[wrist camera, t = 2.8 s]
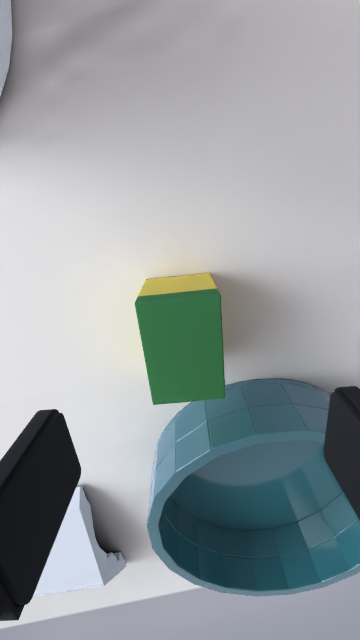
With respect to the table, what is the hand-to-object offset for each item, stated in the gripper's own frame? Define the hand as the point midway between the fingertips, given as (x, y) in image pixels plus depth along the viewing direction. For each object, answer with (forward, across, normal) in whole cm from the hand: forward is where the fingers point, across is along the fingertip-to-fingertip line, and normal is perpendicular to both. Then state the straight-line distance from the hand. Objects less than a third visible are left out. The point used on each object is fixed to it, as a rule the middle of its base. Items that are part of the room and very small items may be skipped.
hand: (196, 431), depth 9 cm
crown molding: (+9, +24, +22) cm, 34 cm away
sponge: (+9, 0, -1) cm, 9 cm away
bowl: (+9, -5, +13) cm, 17 cm away
